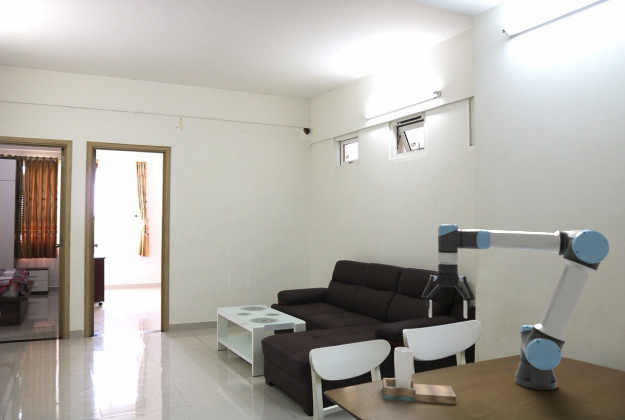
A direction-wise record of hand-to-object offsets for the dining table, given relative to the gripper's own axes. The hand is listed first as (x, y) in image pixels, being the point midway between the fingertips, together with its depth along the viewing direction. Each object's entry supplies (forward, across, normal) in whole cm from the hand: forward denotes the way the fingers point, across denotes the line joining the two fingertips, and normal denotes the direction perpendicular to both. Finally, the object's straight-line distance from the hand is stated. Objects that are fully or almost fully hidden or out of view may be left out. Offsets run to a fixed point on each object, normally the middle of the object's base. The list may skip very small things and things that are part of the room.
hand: (447, 317), depth 192 cm
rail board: (+26, +13, +16) cm, 33 cm away
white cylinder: (+24, +19, +16) cm, 34 cm away
